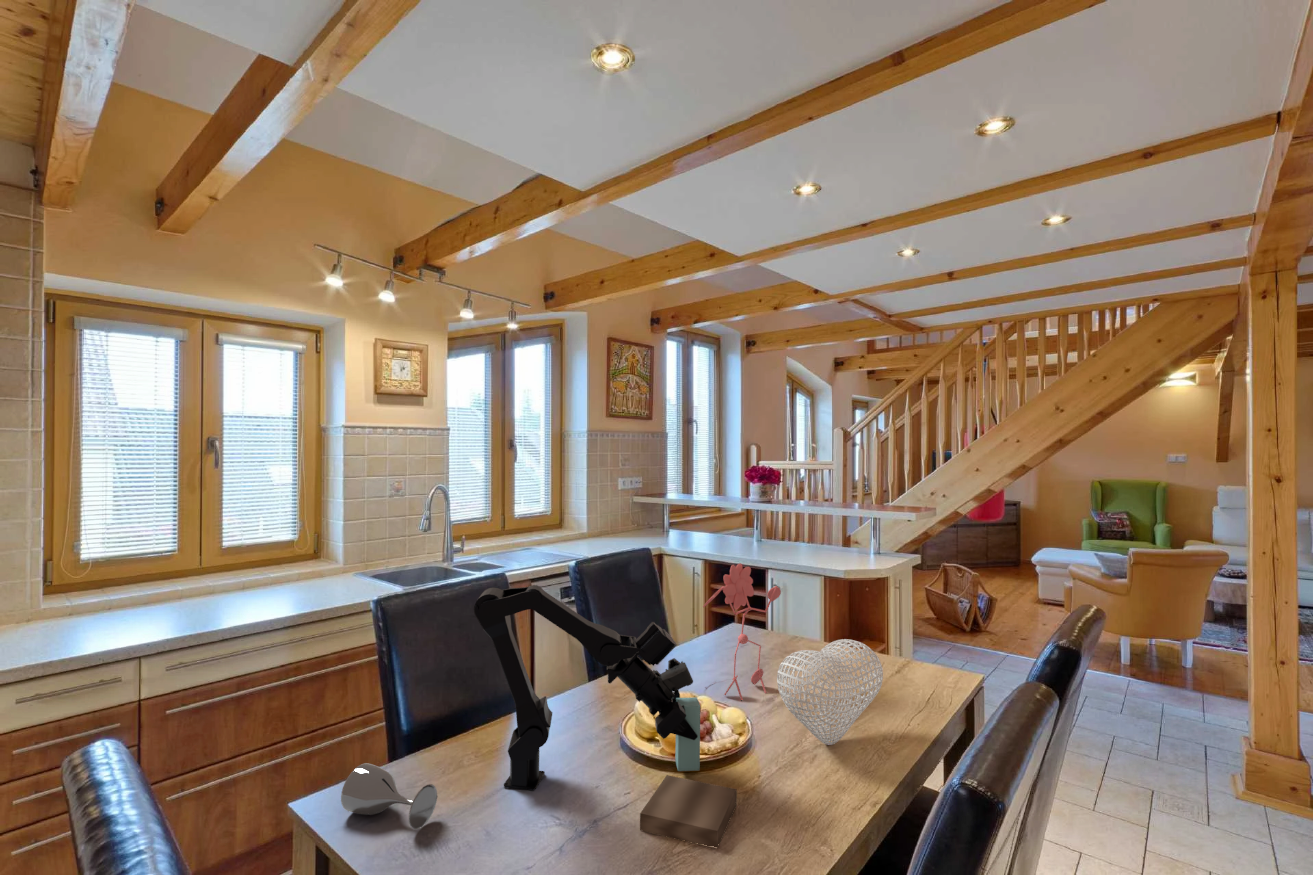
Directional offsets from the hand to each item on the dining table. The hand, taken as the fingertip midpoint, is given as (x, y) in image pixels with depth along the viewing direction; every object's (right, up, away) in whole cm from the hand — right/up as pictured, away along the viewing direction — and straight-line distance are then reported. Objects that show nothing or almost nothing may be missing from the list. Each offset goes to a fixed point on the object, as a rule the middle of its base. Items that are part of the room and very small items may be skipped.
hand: (694, 733), depth 132 cm
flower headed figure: (+15, -9, +46) cm, 49 cm away
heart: (+32, -9, +14) cm, 36 cm away
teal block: (-1, -7, 0) cm, 7 cm away
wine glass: (-49, -4, -19) cm, 53 cm away
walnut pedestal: (-2, -8, -15) cm, 18 cm away
